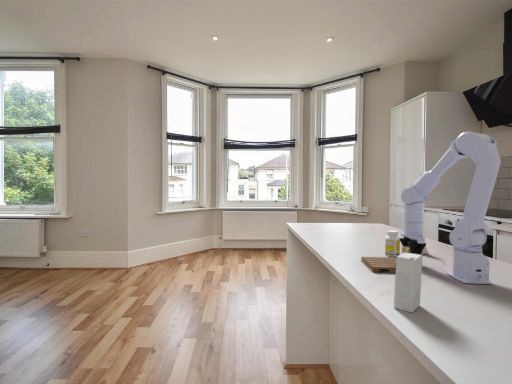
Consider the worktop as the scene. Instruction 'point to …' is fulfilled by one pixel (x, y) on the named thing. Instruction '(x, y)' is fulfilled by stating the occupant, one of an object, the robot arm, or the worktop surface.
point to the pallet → (380, 263)
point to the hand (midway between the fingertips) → (411, 259)
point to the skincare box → (408, 282)
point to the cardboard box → (406, 249)
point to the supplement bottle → (392, 244)
